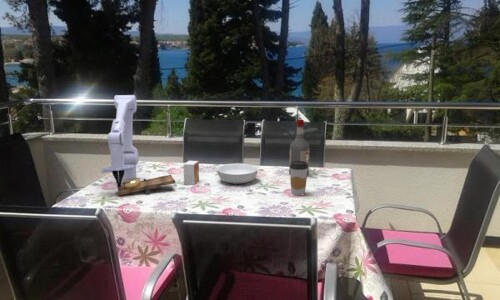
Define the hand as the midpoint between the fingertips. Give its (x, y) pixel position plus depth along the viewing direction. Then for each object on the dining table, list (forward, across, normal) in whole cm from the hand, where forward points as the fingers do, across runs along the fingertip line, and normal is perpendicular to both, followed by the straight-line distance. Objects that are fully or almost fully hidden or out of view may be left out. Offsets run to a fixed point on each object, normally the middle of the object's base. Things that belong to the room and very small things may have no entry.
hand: (119, 186), depth 200 cm
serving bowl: (+4, +58, +1) cm, 58 cm away
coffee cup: (+4, +78, -29) cm, 83 cm away
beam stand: (+4, +12, 0) cm, 13 cm away
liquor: (+4, +93, 0) cm, 93 cm away
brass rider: (+1, +6, 0) cm, 6 cm away
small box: (+4, +36, +6) cm, 36 cm away
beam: (+1, +12, 0) cm, 12 cm away
